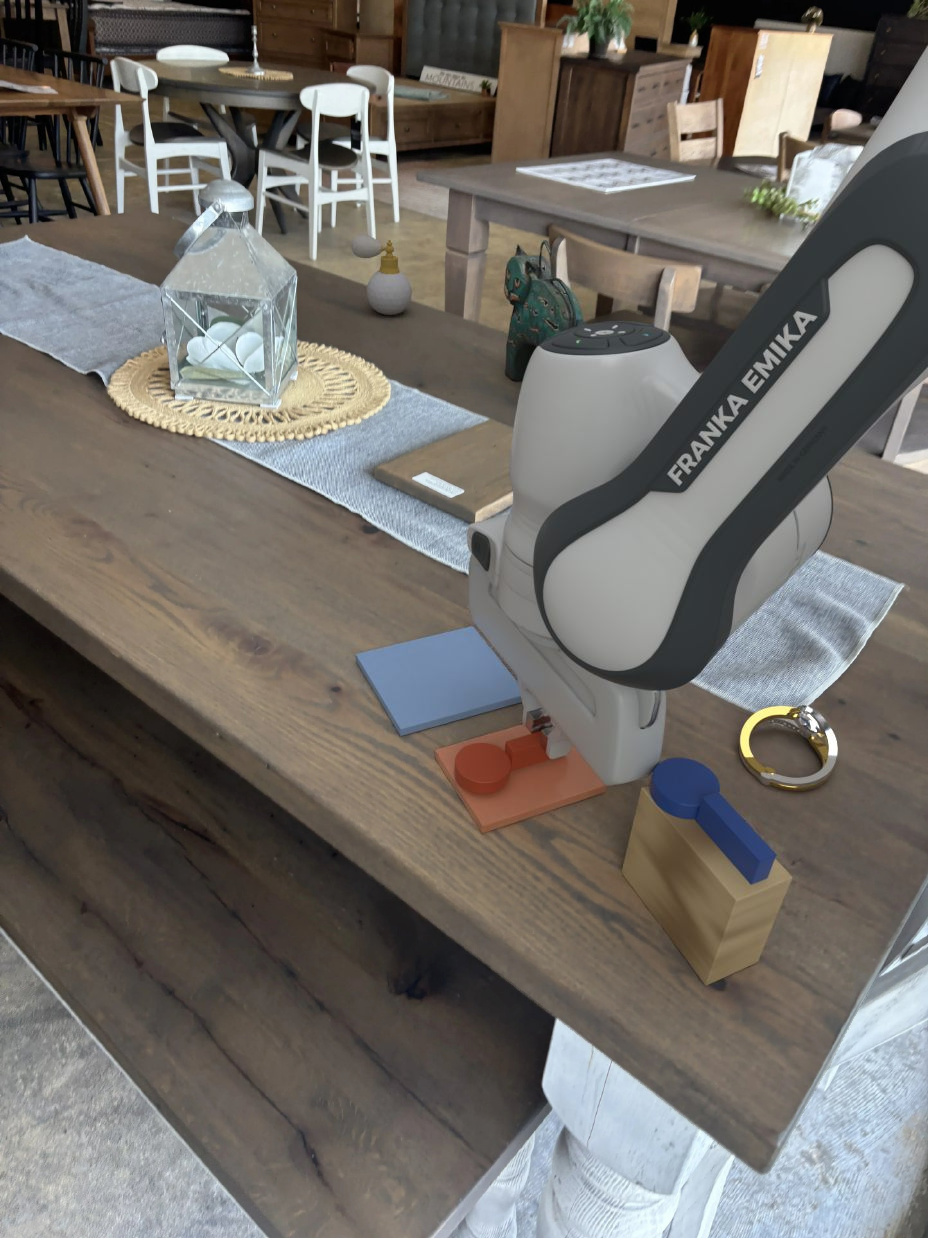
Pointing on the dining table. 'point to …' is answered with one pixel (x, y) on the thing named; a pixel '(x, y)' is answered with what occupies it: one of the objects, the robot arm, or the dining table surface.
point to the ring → (807, 726)
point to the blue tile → (438, 679)
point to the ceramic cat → (535, 308)
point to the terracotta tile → (523, 784)
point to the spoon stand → (700, 892)
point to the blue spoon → (710, 814)
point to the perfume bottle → (384, 277)
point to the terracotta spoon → (496, 763)
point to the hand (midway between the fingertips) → (545, 739)
